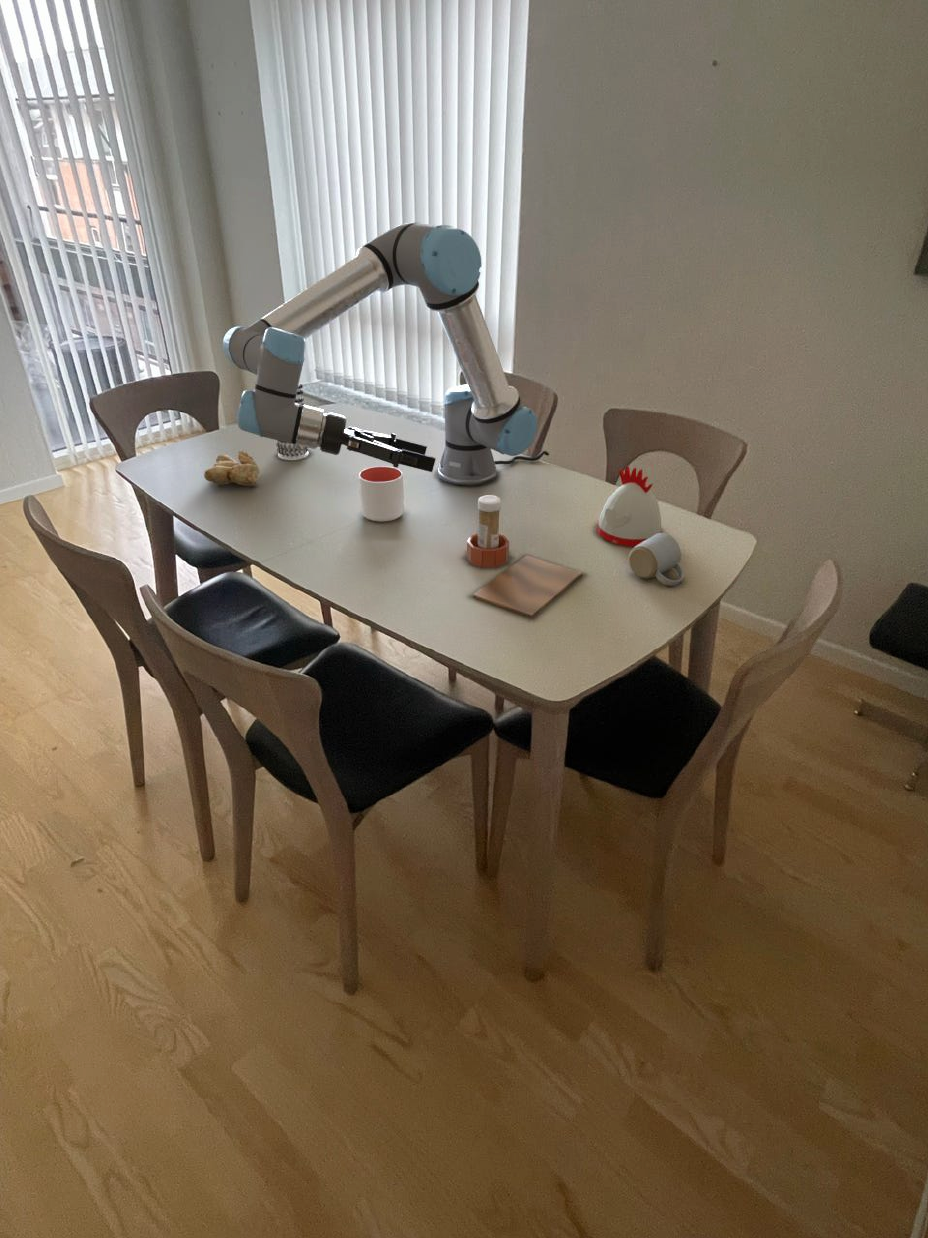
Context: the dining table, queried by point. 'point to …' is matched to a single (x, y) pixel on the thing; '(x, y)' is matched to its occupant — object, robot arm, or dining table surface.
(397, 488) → the cup
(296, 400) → the patterned tall cylinder
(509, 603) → the wooden board
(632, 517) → the kitchen timer
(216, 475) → the ginger root
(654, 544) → the ceramic mug
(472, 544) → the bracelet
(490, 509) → the sprinkles bottle
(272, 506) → the dining table surface
